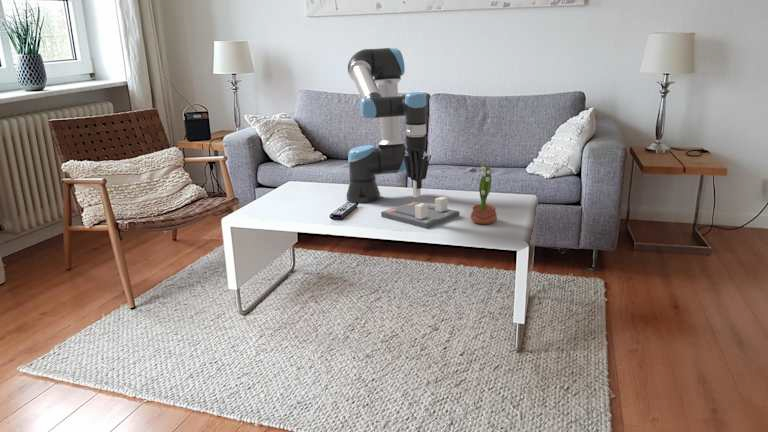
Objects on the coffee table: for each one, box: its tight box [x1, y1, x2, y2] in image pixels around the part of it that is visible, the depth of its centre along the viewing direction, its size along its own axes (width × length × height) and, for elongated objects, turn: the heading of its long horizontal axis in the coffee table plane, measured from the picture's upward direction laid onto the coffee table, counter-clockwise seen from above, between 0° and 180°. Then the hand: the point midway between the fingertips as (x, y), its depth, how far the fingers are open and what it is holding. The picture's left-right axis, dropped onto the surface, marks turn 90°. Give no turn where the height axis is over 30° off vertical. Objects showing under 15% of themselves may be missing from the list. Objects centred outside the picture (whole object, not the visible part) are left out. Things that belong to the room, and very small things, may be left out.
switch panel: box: [380, 200, 460, 229], centre depth 232 cm, size 24×20×2 cm
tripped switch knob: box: [415, 202, 429, 219], centre depth 223 cm, size 3×4×5 cm
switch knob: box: [434, 196, 448, 212], centre depth 231 cm, size 3×4×5 cm
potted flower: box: [470, 158, 498, 225], centre depth 219 cm, size 12×10×25 cm
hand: (416, 196), depth 223 cm, fingers closed
